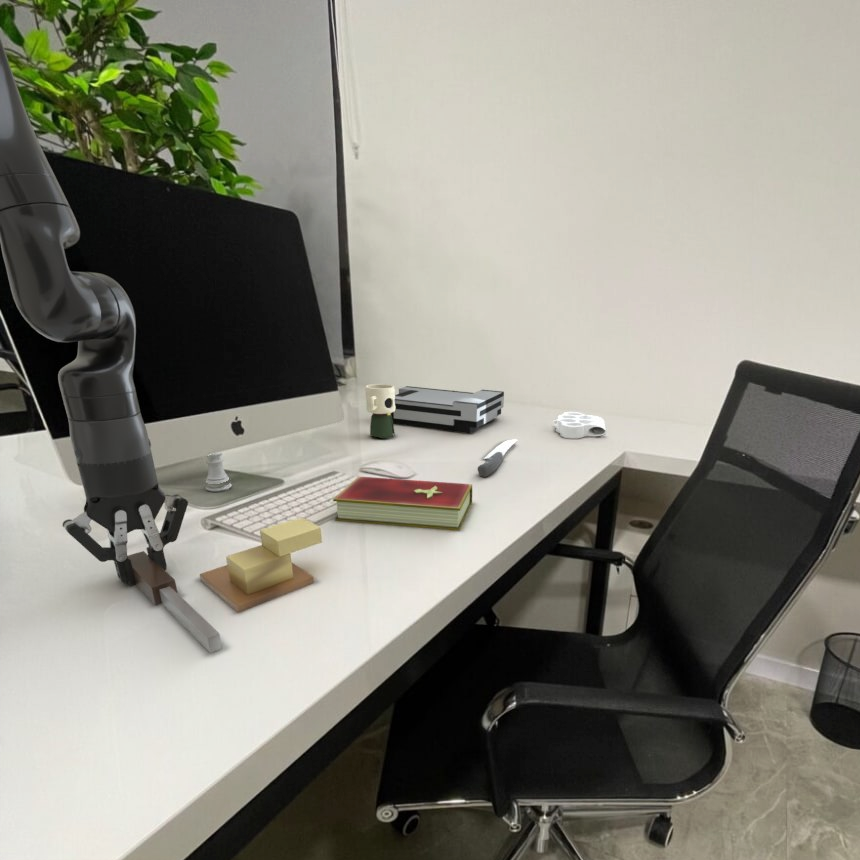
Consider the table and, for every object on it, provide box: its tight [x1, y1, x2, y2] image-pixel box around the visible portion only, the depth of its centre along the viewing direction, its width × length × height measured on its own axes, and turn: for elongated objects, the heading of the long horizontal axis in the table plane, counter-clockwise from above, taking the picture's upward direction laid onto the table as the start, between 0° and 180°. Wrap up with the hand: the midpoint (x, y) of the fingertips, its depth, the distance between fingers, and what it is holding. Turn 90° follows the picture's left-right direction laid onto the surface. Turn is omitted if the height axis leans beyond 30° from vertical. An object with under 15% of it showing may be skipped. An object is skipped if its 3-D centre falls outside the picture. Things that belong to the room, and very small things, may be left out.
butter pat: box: [259, 517, 323, 557], centre depth 73 cm, size 6×5×2 cm
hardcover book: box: [332, 476, 473, 532], centre depth 95 cm, size 12×21×4 cm, turn 83°
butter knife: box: [127, 550, 223, 654], centre depth 66 cm, size 3×25×3 cm, turn 48°
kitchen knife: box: [477, 439, 518, 478], centre depth 127 cm, size 29×3×5 cm
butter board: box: [199, 544, 315, 613], centre depth 71 cm, size 10×11×4 cm
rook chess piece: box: [205, 451, 233, 493], centre depth 102 cm, size 4×4×8 cm
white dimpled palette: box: [551, 411, 607, 440], centre depth 153 cm, size 3×18×15 cm
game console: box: [391, 385, 505, 434], centre depth 158 cm, size 21×32×8 cm, turn 70°
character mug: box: [365, 383, 396, 439], centre depth 139 cm, size 11×7×13 cm, turn 167°
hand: (144, 578), depth 72 cm, fingers closed on butter knife, 2 cm apart
